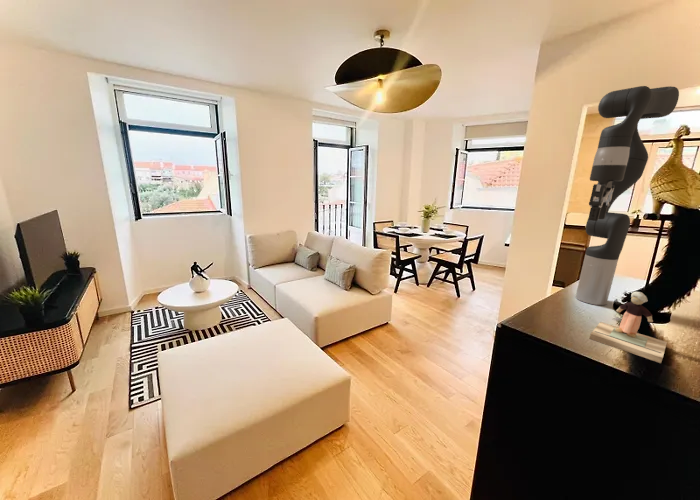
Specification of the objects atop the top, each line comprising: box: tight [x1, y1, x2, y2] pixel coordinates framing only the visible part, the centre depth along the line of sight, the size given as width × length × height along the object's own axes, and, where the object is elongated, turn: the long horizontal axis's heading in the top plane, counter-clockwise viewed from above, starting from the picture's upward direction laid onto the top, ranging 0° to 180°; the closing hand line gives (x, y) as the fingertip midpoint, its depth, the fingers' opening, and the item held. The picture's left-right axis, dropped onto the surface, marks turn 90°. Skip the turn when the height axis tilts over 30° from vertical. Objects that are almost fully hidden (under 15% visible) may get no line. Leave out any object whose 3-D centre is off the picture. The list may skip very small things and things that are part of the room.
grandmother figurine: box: [615, 291, 654, 338], centre depth 79 cm, size 8×4×13 cm, turn 35°
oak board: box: [589, 321, 668, 364], centre depth 79 cm, size 12×14×2 cm
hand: (596, 219), depth 87 cm, fingers open, 8 cm apart
